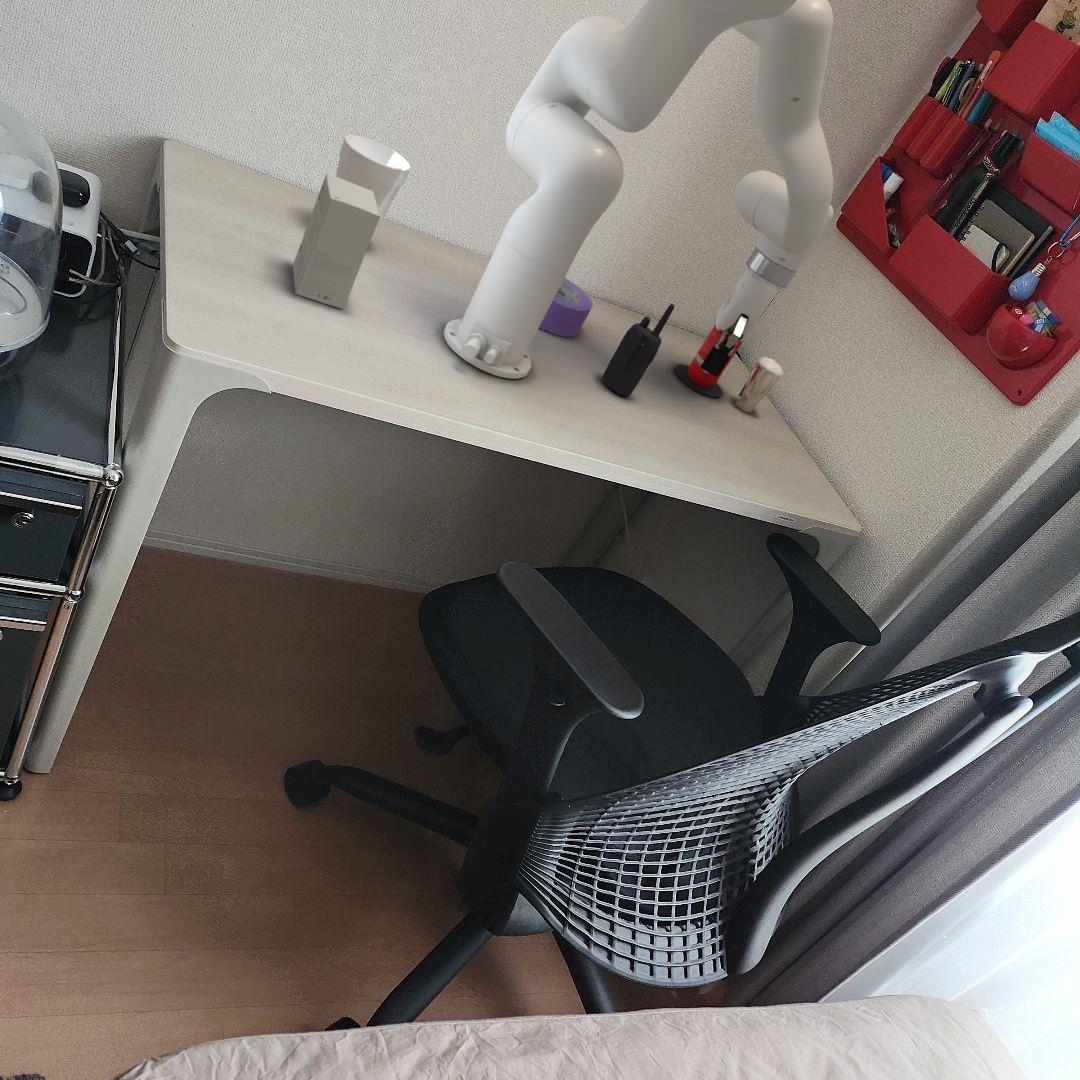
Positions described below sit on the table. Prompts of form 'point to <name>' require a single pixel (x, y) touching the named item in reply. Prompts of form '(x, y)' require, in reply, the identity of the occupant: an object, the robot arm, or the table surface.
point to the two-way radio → (634, 355)
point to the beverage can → (695, 369)
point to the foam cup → (372, 169)
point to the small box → (335, 241)
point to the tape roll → (567, 310)
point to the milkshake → (759, 383)
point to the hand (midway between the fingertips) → (710, 362)
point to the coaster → (709, 392)
